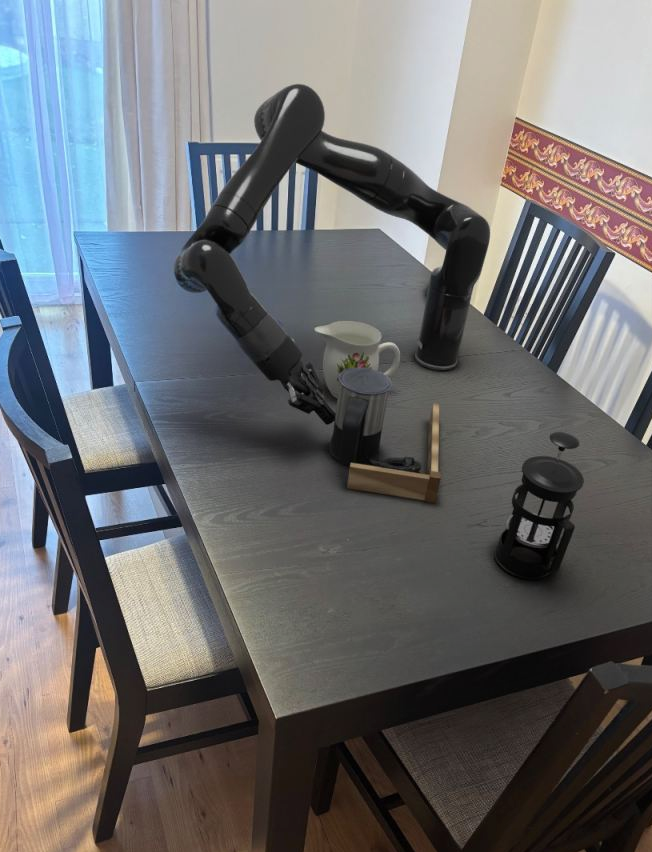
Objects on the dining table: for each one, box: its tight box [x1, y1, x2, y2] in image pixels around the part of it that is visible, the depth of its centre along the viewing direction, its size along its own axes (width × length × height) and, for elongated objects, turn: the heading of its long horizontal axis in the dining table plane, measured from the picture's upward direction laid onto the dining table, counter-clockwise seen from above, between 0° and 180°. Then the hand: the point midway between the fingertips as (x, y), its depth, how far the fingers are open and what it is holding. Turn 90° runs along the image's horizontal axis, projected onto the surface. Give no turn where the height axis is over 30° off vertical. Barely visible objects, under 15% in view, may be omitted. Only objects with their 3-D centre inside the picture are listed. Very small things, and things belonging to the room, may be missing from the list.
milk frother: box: [328, 368, 422, 473], centre depth 136 cm, size 14×16×15 cm
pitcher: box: [313, 320, 401, 399], centre depth 155 cm, size 11×18×14 cm, turn 103°
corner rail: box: [346, 403, 442, 504], centre depth 141 cm, size 26×15×5 cm, turn 174°
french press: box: [493, 431, 585, 582], centre depth 116 cm, size 12×9×23 cm
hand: (331, 420), depth 139 cm, fingers closed
